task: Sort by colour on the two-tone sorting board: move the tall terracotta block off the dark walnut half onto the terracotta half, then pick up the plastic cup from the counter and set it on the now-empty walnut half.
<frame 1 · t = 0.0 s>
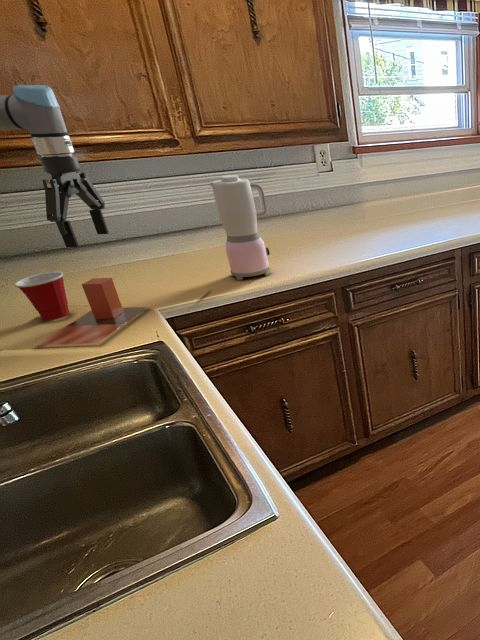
hand: (88, 240, 138), 21 cm above the worktop, tool pointing down, fingers open, 13 cm apart
blender: (256, 274, 178), on the worktop
sorting board: (96, 327, 138), on the worktop
plastic cup: (56, 318, 144), on the worktop
terracotta block: (109, 315, 143), point 1 cm above the worktop, touching sorting board
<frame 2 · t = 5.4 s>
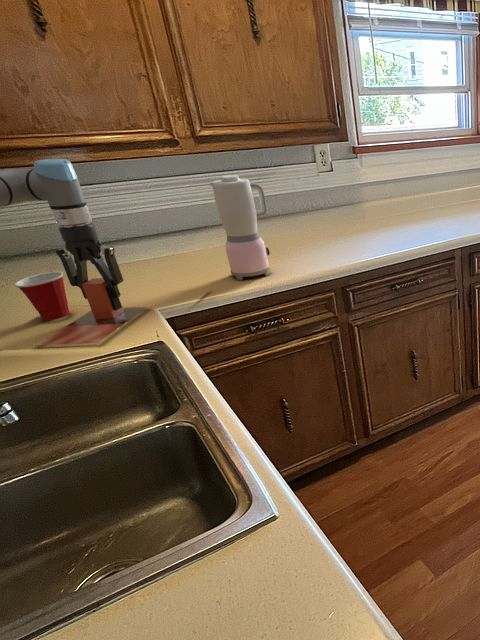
hand: (107, 308, 143), 3 cm above the worktop, tool pointing down, fingers closed on terracotta block, 5 cm apart
terracotta block: (109, 315, 143), point 1 cm above the worktop, touching gripper, sorting board
everything else where it was.
when the fingers open (3 cm above the worktop, at t = 11.4 s): terracotta block stays where it is, resting on sorting board.
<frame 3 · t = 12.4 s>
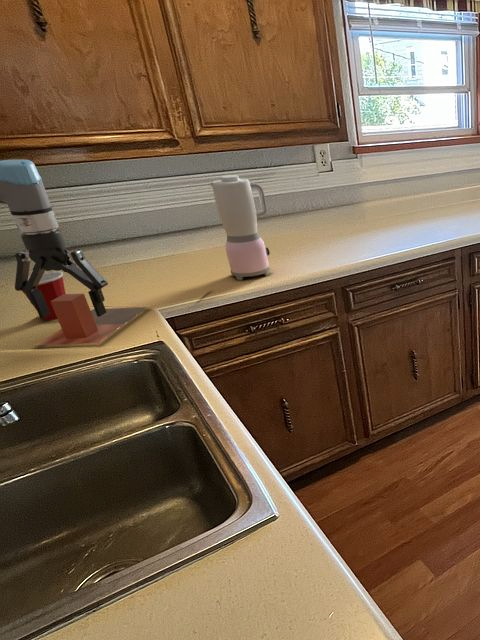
hand: (73, 315, 130), 6 cm above the worktop, tool pointing down, fingers open, 13 cm apart
terracotta block: (82, 334, 132), point 1 cm above the worktop, touching sorting board
everything else where it was.
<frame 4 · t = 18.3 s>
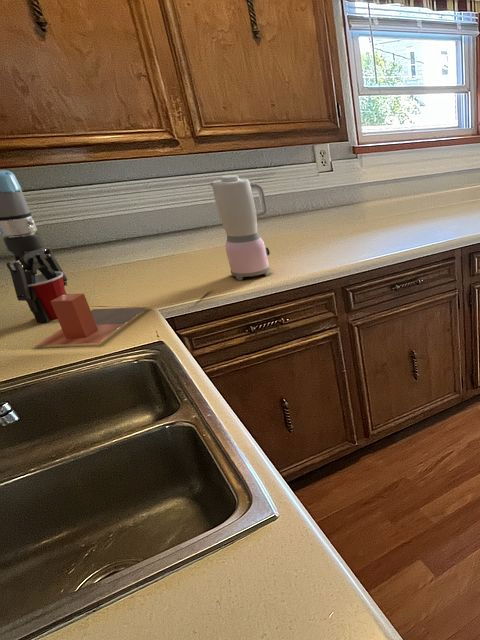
hand: (55, 315, 144), 1 cm above the worktop, tool pointing down, fingers closed on plastic cup, 9 cm apart
plastic cup: (56, 318, 144), on the worktop, touching gripper
everything else where it was.
when the fingers open (2 cm above the worktop, at t = 25.4 s): plastic cup stays where it is, resting on sorting board.
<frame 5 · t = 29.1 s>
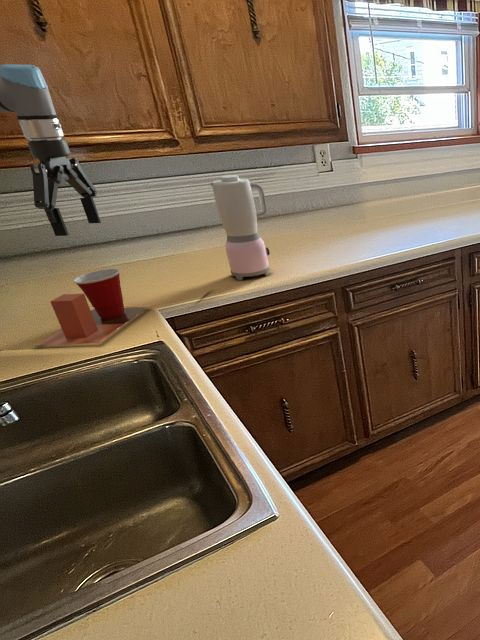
hand: (79, 229, 132), 25 cm above the worktop, tool pointing down, fingers open, 13 cm apart
plastic cup: (111, 316, 144), point 1 cm above the worktop, touching sorting board
everything else where it was.
at the end: terracotta block inside the target area (0.1 cm from its centre), point 0.8 cm above the worktop; plastic cup inside the target area (0.0 cm from its centre), point 0.6 cm above the worktop; plastic cup tilted 0° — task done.
